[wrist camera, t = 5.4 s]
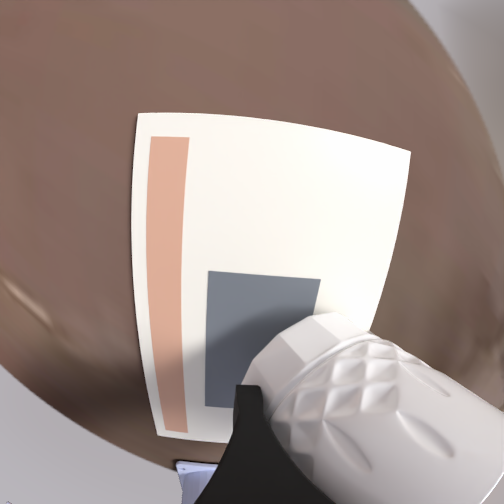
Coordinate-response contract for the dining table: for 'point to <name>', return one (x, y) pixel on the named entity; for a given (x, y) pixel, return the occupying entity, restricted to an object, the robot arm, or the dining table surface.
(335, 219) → the menu card
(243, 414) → the robot arm
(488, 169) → the dining table surface
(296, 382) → the white cup
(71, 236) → the dining table surface
